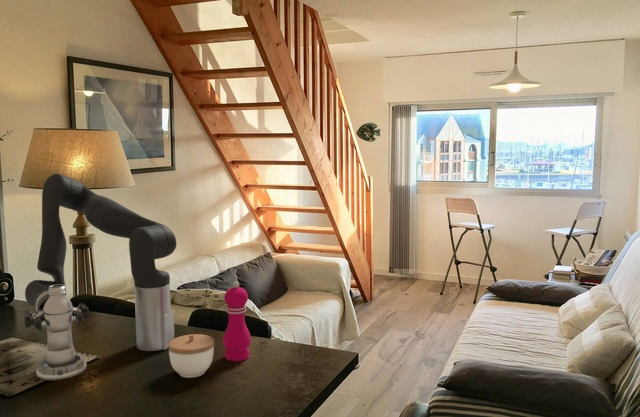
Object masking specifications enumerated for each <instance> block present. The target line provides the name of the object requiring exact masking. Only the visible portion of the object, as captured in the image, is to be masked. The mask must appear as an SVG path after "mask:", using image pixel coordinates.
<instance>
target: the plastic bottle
mask: <svg viewBox="0 0 640 417" xmlns="http://www.w3.org/2000/svg"><path fill="white" fill-rule="evenodd" d="M65 287H66V284H65V285H62V284H58V285H52V286H49V293H48V294H49V295H50V297H49V299H48V300H47V302H46V303H45V305H44V309H43V310H44V316H45V321H46V332H47V344H46V345H47V347H46V348H47V349H46V353H45V358H46V361H47V365H48V366H49V367H50V368H58V367H65V366H68V365H72V364H73V362H74V360H75V353H76V351H75V347H74V344H73V343H74V341H73V335H72V321H71V319H72V307H73V303H72V302H71V300H70V299H69V298H68V296H67V295H66V296H65V293H66V294H67V289H66V290H65Z"/></svg>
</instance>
